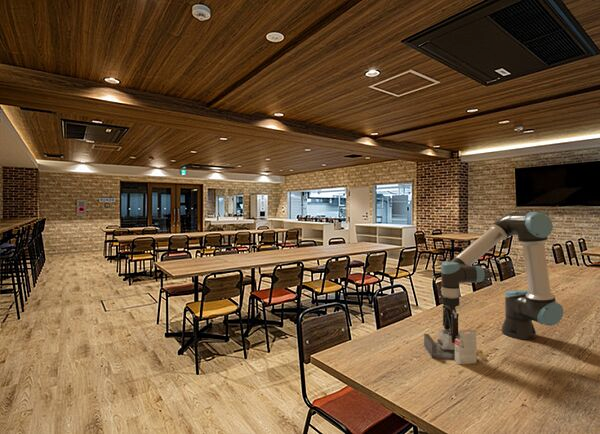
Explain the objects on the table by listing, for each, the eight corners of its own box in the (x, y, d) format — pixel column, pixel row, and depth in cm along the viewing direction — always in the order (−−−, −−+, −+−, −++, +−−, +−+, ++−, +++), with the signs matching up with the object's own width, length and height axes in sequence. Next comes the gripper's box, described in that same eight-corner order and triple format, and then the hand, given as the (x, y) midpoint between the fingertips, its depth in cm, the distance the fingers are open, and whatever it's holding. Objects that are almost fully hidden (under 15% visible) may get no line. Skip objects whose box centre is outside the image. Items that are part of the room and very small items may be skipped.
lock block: (456, 344, 155) (456, 330, 155) (461, 350, 149) (461, 334, 149) (437, 344, 156) (437, 329, 156) (441, 349, 150) (441, 333, 150)
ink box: (454, 361, 144) (454, 327, 144) (471, 360, 145) (471, 326, 145) (459, 364, 141) (459, 330, 140) (476, 363, 142) (476, 329, 141)
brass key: (472, 352, 153) (472, 349, 153) (480, 352, 153) (480, 349, 153) (480, 360, 145) (480, 357, 145) (489, 360, 144) (489, 357, 144)
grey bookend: (463, 347, 158) (463, 334, 158) (474, 359, 146) (474, 346, 145) (424, 346, 160) (424, 333, 160) (432, 358, 147) (431, 344, 147)
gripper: (435, 291, 162) (435, 338, 163) (448, 301, 143) (448, 354, 144) (451, 291, 161) (451, 338, 162) (467, 302, 142) (467, 355, 143)
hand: (450, 346), depth 153 cm, fingers closed on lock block, 6 cm apart
